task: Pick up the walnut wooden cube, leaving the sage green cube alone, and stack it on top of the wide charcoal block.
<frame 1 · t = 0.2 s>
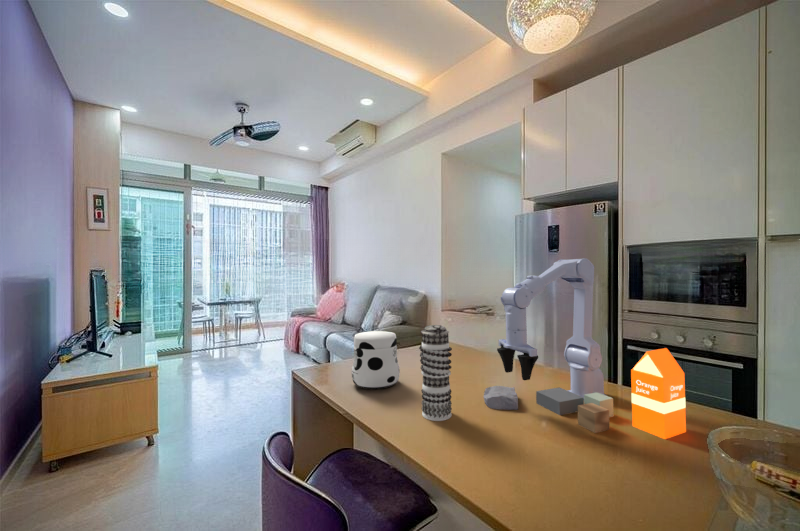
hand: (517, 375, 98), 10 cm above the table, tool pointing down, fingers open, 7 cm apart
walnut block: (593, 427, 87), on the table
orange juice: (658, 429, 85), on the table
sage block: (598, 414, 94), on the table
charcoal block: (559, 407, 100), on the table
decorative candle: (436, 415, 96), on the table
milk container: (375, 385, 122), on the table
stone block: (499, 403, 104), on the table
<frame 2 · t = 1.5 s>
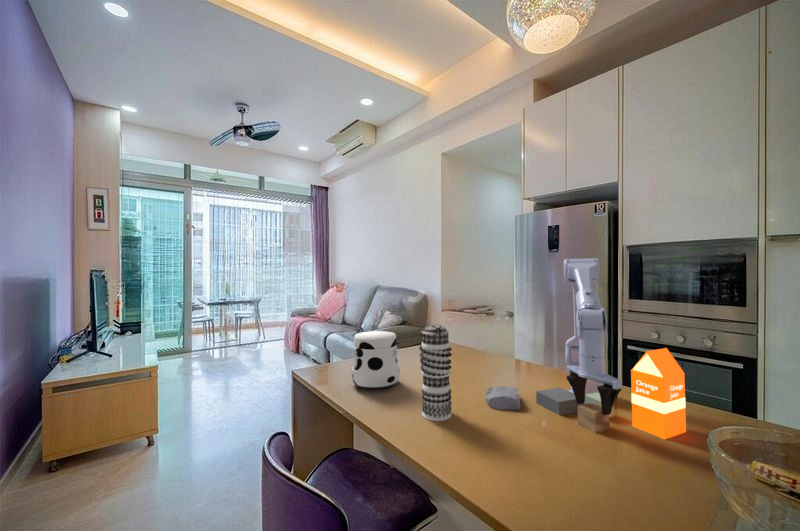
hand: (593, 408, 87), 5 cm above the table, tool pointing down, fingers open, 7 cm apart
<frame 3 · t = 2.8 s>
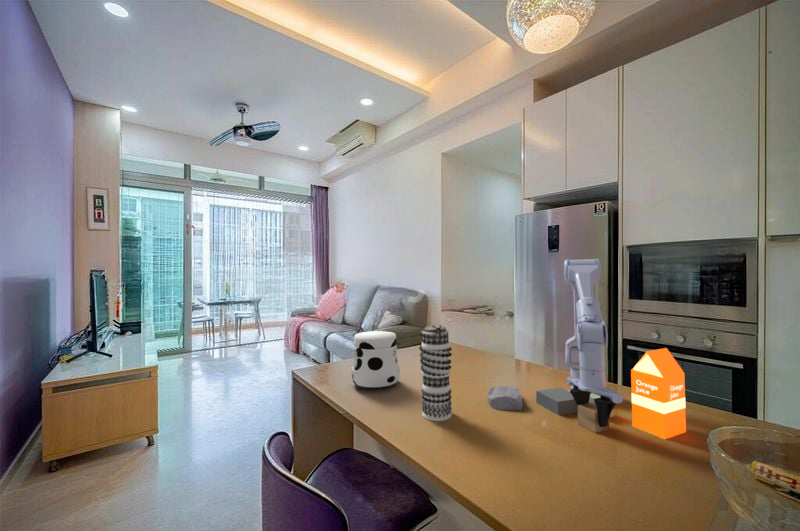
hand: (593, 421, 87), 1 cm above the table, tool pointing down, fingers closed on walnut block, 5 cm apart
walnut block: (593, 426, 87), on the table, touching gripper
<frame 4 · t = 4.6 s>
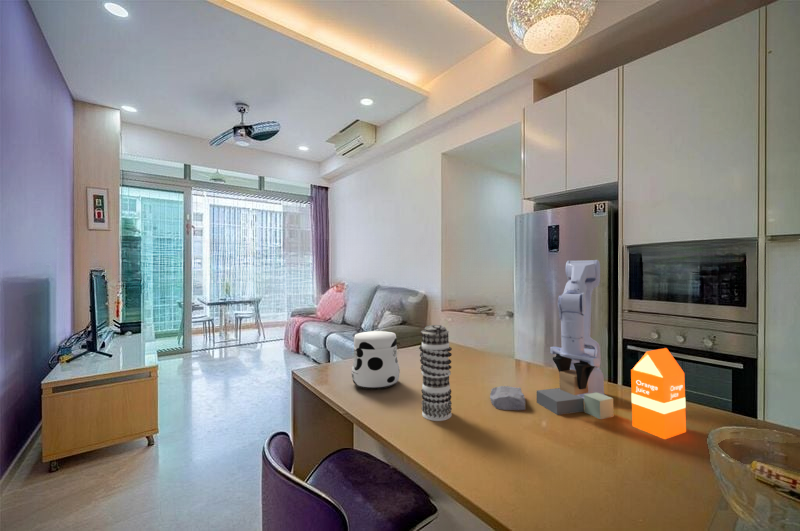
hand: (573, 385, 94), 8 cm above the table, tool pointing down, fingers closed on walnut block, 5 cm apart
walnut block: (573, 390, 94), point 7 cm above the table, touching gripper
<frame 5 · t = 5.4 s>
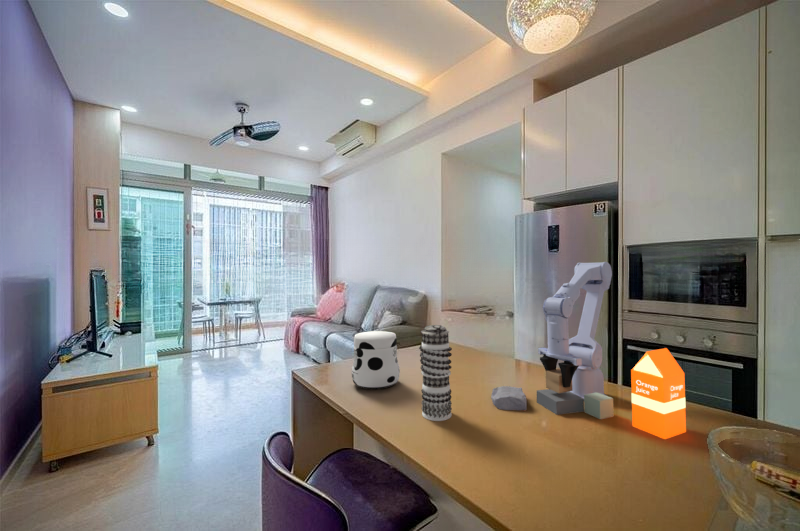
hand: (559, 383, 100), 7 cm above the table, tool pointing down, fingers closed on walnut block, 5 cm apart
walnut block: (559, 389, 100), point 5 cm above the table, touching gripper
when the fingers open (7 cm above the table, at t = 6.3 s): walnut block drops 1 cm, point 4 cm above the table.
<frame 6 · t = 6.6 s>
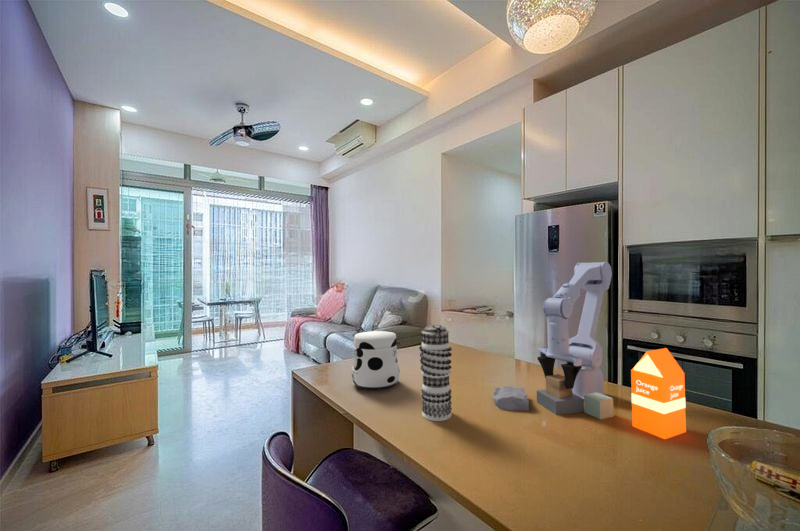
hand: (559, 384, 100), 7 cm above the table, tool pointing down, fingers open, 7 cm apart
walnut block: (559, 394, 100), point 4 cm above the table
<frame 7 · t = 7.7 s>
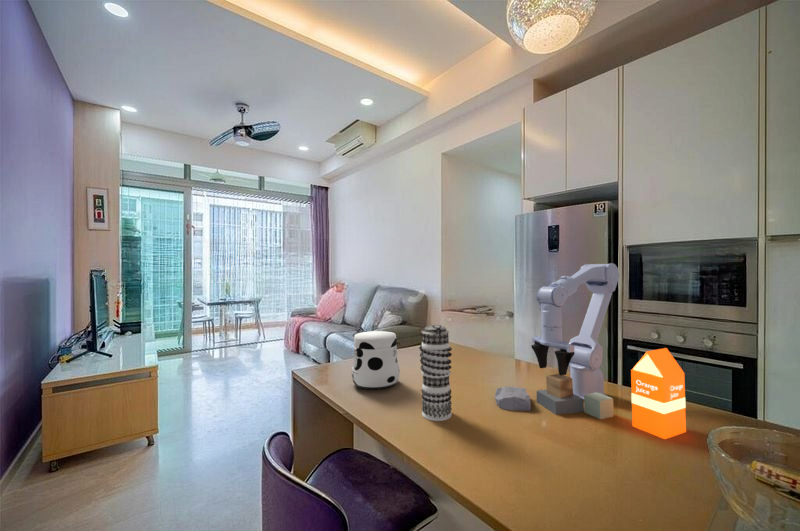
hand: (552, 371, 102), 10 cm above the table, tool pointing down, fingers open, 7 cm apart
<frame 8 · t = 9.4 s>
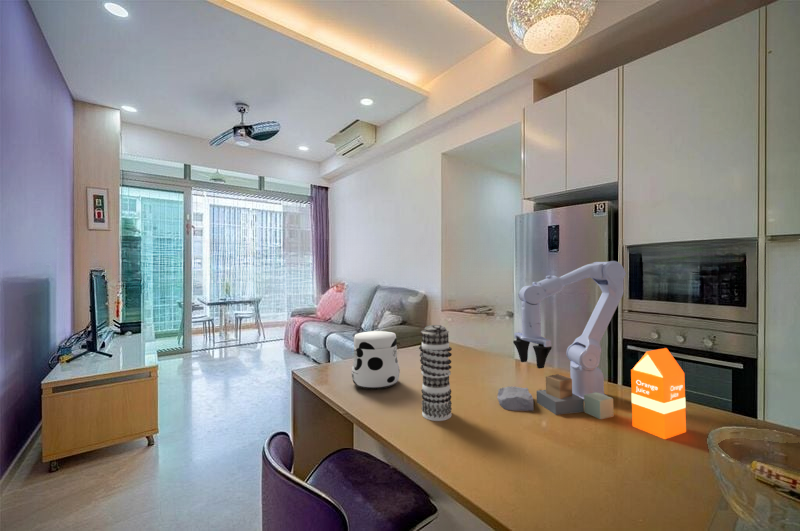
hand: (532, 364, 109), 10 cm above the table, tool pointing down, fingers open, 7 cm apart
walnut block: (559, 394, 100), point 4 cm above the table, touching charcoal block
charcoal block: (559, 408, 99), on the table, touching walnut block
at the end: walnut block 0.0 cm off-centre on the charcoal block, point 4.0 cm above the charcoal block's base; walnut block tilted 1°; the gripper is holding nothing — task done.
